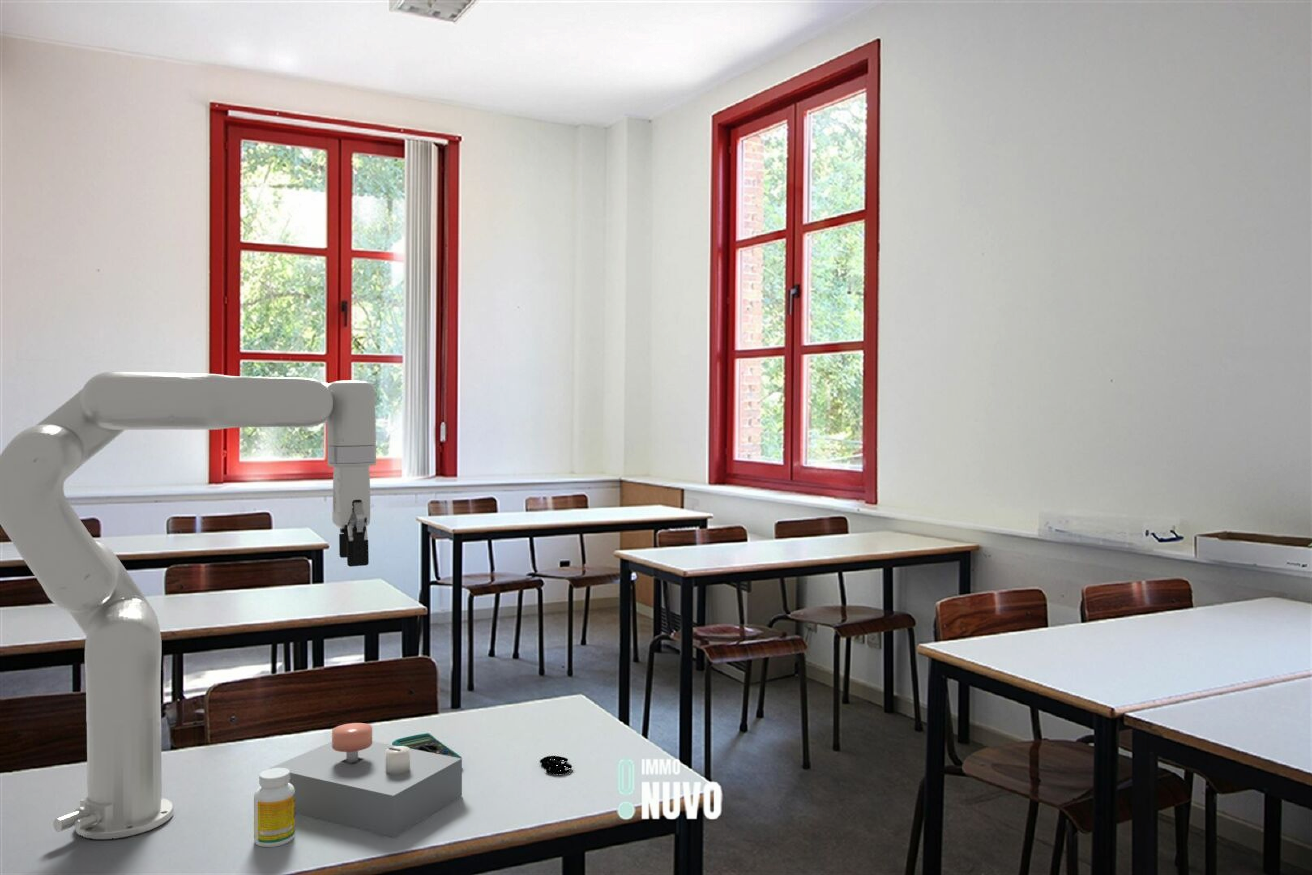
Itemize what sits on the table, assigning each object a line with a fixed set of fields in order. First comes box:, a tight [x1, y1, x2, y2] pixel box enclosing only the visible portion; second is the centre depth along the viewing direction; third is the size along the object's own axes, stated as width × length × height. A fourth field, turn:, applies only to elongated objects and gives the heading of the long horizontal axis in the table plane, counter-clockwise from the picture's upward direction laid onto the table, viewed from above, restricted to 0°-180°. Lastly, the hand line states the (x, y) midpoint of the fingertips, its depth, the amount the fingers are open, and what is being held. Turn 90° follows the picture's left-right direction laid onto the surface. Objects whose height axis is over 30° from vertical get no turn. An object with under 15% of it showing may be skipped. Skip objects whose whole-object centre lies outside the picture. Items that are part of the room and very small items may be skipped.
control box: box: [269, 740, 463, 838], centre depth 147 cm, size 16×24×6 cm, turn 65°
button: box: [331, 722, 373, 764], centre depth 148 cm, size 6×6×5 cm
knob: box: [386, 746, 410, 774], centre depth 144 cm, size 4×4×3 cm
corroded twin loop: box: [539, 755, 573, 776], centre depth 161 cm, size 5×8×1 cm, turn 20°
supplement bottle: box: [253, 768, 296, 848], centre depth 133 cm, size 5×5×10 cm
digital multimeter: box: [391, 732, 463, 760], centre depth 164 cm, size 7×15×3 cm, turn 36°
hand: (353, 561), depth 154 cm, fingers open, 9 cm apart
